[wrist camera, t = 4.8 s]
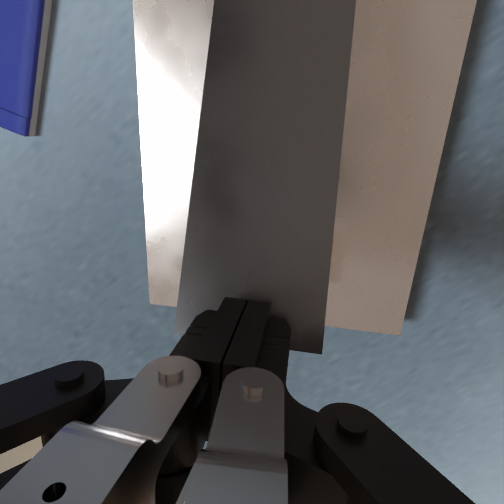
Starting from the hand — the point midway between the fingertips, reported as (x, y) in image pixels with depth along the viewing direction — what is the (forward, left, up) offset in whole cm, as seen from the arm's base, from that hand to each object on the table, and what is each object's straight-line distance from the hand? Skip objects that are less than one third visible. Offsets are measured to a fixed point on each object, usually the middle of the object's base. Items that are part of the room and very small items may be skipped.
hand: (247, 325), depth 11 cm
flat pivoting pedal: (-7, 0, -5) cm, 9 cm away
